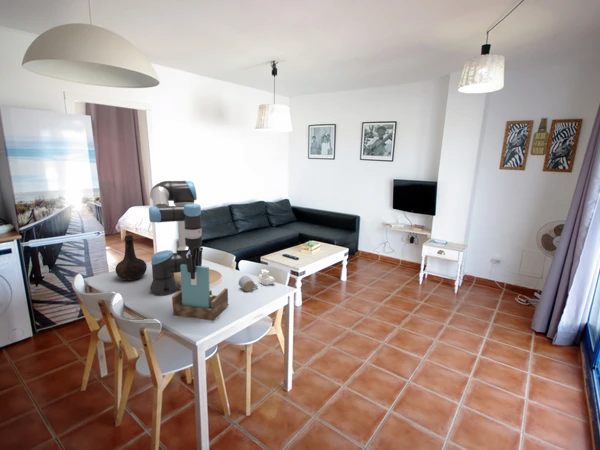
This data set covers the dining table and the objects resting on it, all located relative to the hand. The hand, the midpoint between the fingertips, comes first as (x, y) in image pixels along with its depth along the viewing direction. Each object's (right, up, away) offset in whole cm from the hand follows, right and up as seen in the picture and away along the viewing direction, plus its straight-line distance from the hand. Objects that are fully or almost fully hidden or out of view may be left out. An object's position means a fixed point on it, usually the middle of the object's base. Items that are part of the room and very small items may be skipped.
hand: (195, 283), depth 153 cm
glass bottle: (-58, -6, +50) cm, 77 cm away
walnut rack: (0, -16, +9) cm, 19 cm away
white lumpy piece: (+29, -9, +48) cm, 57 cm away
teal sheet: (-1, -15, +3) cm, 15 cm away
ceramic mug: (+20, -11, +39) cm, 45 cm away
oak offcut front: (+2, -15, +7) cm, 17 cm away
